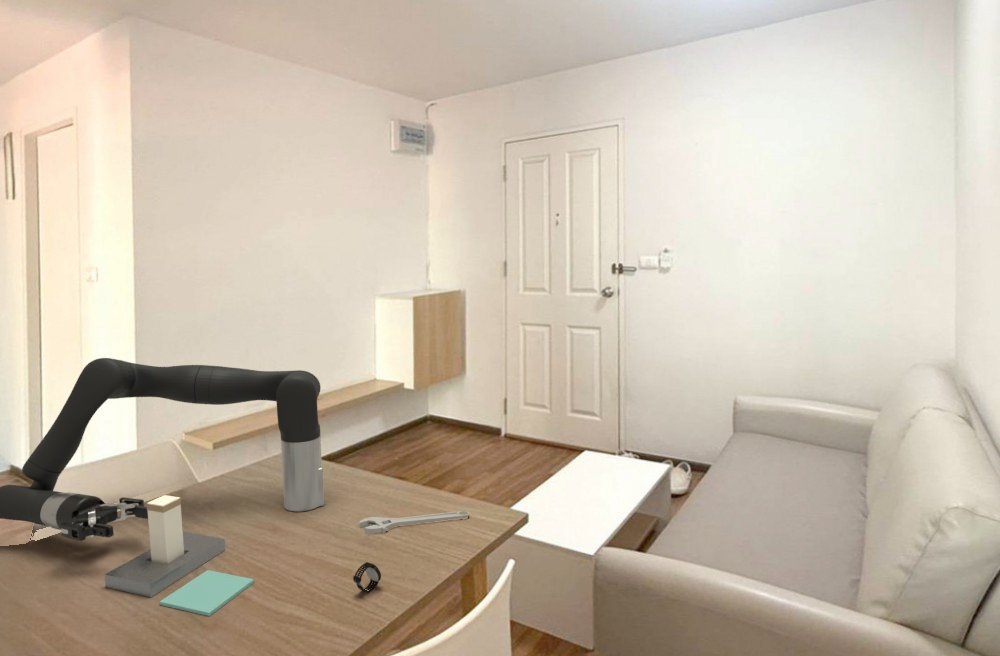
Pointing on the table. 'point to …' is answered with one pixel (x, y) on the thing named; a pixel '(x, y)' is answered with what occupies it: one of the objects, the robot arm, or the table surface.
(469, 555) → the table surface
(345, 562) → the table surface
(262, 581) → the table surface
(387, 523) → the adjustable wrench
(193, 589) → the mat
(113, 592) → the table surface
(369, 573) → the smartwatch
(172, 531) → the post
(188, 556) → the socket plate
